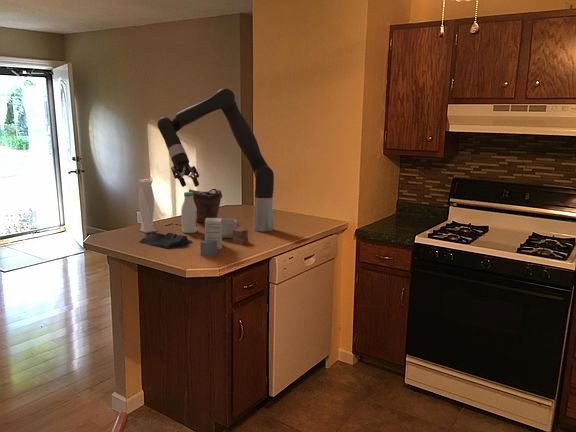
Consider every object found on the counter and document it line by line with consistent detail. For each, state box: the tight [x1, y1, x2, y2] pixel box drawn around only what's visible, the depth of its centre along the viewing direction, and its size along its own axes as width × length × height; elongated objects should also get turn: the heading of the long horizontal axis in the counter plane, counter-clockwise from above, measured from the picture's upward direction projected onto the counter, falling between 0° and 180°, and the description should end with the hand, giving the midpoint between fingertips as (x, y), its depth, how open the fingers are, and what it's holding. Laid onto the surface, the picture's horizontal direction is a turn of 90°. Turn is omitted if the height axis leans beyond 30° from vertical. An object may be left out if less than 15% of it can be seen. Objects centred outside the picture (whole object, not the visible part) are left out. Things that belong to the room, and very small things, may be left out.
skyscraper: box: [138, 176, 159, 234], centre depth 248 cm, size 8×8×28 cm
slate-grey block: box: [199, 239, 218, 258], centre depth 212 cm, size 5×5×6 cm
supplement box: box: [204, 217, 223, 250], centre depth 224 cm, size 7×7×13 cm
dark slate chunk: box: [138, 232, 193, 250], centre depth 230 cm, size 15×22×5 cm
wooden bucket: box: [188, 188, 223, 223], centre depth 278 cm, size 18×20×18 cm
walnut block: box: [232, 227, 249, 245], centre depth 233 cm, size 5×5×6 cm
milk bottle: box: [180, 191, 198, 234], centre depth 250 cm, size 8×8×20 cm
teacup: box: [222, 218, 238, 239], centre depth 243 cm, size 14×11×8 cm
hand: (190, 186), depth 234 cm, fingers open, 8 cm apart
